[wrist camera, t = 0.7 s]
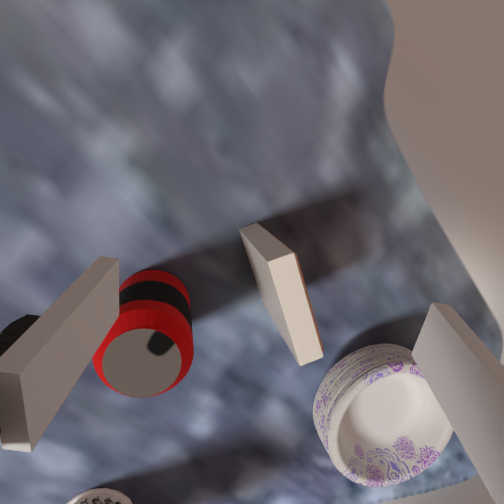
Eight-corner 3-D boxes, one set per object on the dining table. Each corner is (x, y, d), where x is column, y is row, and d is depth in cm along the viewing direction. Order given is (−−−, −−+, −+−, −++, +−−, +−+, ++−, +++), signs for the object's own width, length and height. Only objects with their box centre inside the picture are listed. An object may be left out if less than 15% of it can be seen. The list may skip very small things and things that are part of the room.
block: (263, 303, 41) (299, 366, 28) (238, 228, 38) (267, 262, 26) (281, 296, 41) (326, 355, 29) (258, 221, 38) (296, 251, 26)
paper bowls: (401, 311, 45) (447, 342, 37) (425, 407, 49) (470, 453, 42) (287, 360, 43) (310, 403, 36) (322, 455, 48) (349, 510, 40)
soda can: (204, 295, 39) (214, 351, 28) (160, 348, 40) (153, 424, 28) (145, 254, 37) (130, 296, 26) (100, 310, 37) (65, 377, 26)
